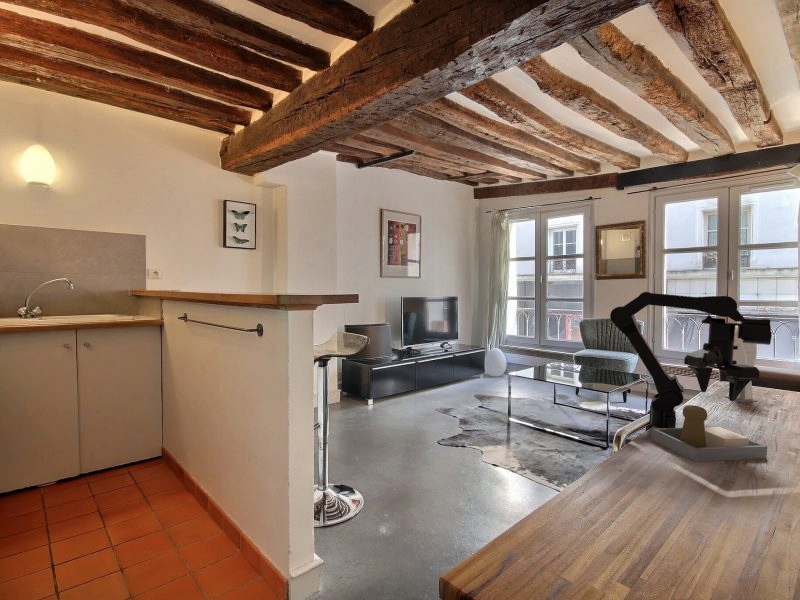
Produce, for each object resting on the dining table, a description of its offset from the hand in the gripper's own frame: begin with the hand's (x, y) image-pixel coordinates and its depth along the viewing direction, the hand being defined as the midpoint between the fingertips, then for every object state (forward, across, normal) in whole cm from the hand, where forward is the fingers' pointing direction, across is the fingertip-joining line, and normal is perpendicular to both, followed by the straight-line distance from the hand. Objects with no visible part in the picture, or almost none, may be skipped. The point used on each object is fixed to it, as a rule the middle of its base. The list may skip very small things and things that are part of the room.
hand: (717, 396), depth 119 cm
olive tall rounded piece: (+11, +9, -15) cm, 21 cm away
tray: (+12, +9, -11) cm, 18 cm away
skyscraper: (+12, -39, +48) cm, 63 cm away
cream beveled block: (+11, +9, -6) cm, 15 cm away
